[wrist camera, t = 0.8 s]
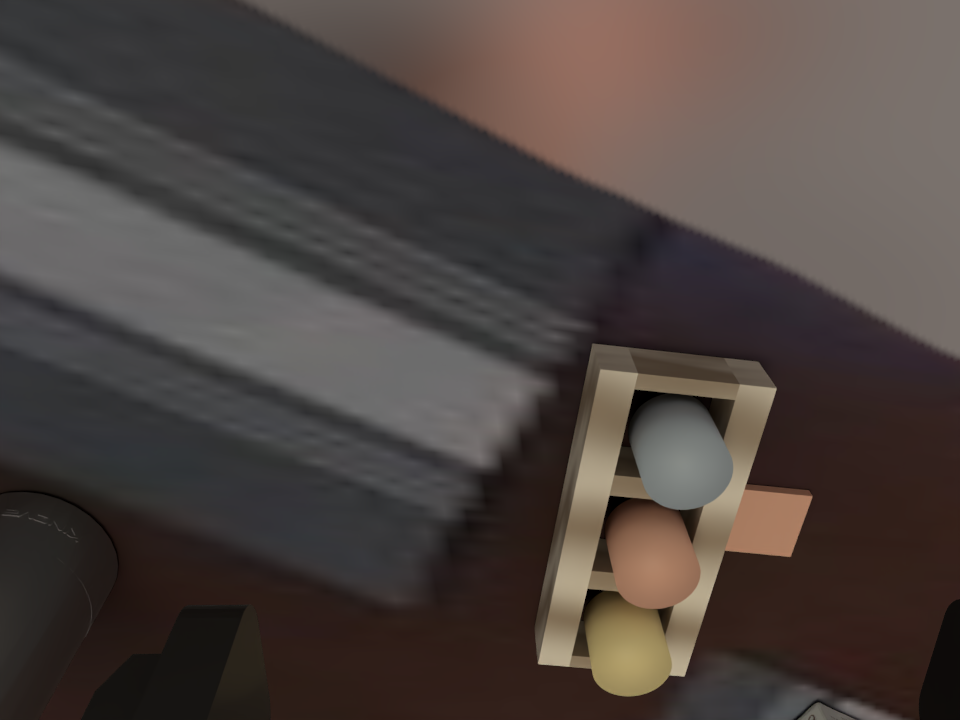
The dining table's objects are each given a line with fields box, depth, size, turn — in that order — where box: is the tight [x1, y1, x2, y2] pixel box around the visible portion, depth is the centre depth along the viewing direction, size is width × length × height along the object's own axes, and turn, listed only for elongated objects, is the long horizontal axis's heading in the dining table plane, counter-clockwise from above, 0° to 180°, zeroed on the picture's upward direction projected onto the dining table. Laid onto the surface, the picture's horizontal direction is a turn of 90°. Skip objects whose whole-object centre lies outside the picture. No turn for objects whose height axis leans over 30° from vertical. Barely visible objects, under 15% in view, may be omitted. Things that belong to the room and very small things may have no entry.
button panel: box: [535, 344, 777, 676], centre depth 47 cm, size 20×9×3 cm, turn 173°
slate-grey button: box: [628, 393, 733, 510], centre depth 42 cm, size 4×4×4 cm
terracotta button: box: [604, 498, 701, 609], centre depth 45 cm, size 4×4×4 cm
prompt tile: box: [725, 484, 813, 557], centre depth 49 cm, size 4×4×1 cm
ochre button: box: [583, 590, 672, 696], centre depth 48 cm, size 4×4×4 cm
